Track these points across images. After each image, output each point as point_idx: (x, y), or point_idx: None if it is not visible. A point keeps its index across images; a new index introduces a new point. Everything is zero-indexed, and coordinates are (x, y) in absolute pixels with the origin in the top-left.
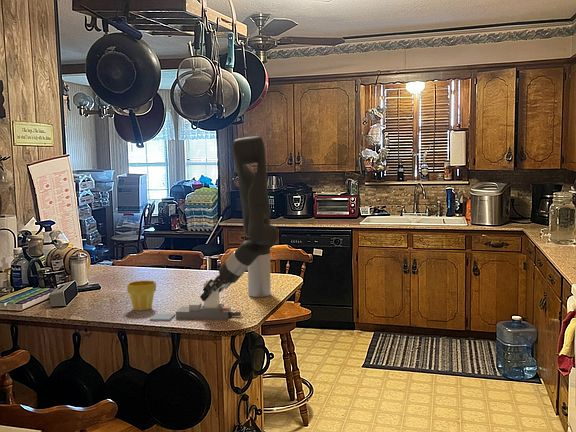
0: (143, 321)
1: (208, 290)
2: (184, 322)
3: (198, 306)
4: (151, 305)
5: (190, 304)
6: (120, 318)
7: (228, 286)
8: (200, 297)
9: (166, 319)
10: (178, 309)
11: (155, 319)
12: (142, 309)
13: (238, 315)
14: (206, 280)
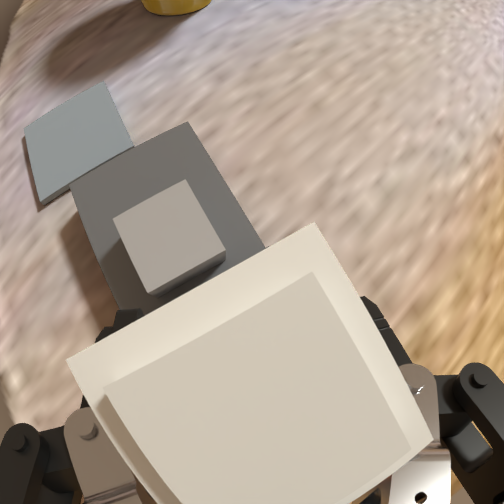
0: (15, 124)
1: (70, 483)
2: (52, 296)
3: (148, 290)
4: (192, 4)
5: (129, 218)
6: (38, 46)
7: (466, 430)
8: (122, 313)
9: (37, 189)
10: (117, 157)
11: (27, 148)
12: (150, 10)
13: None
14: (137, 381)
